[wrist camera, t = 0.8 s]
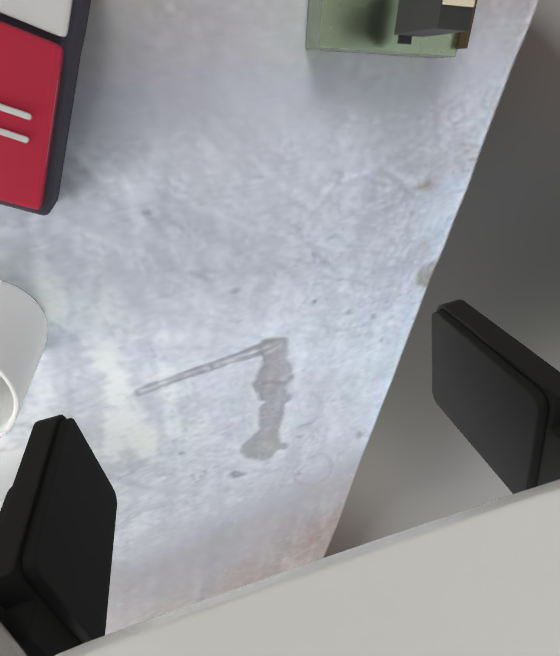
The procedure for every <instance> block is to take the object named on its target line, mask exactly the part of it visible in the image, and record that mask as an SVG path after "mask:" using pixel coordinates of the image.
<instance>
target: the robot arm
mask: <svg viewBox="0 0 560 656" xmlns="http://www.w3.org/2000/svg"><path fill="white" fill-rule="evenodd" d="M432 392H433V396H434V399H435V401H436V403H437V404H438V406H439V407H440V408H441V409H442V410H443V411H444V412H445V414H446V415H447V416H448V417H449V418H450V419H451V421H452V422H453V423H454V425H455V426H456V427H457V428H458V429H459V430H460V432H461V433H462V434H463V435H464V436H465V437H466V439H467V440H468V441H469V442H470V443H471V445H472V446H473V447H474V448H475V449H476V450H477V452H478V453H479V454H480V455H481V456H482V457H483V459H484V460H485V461H486V462H487V463H488V465H489V466H490V467H491V468H492V469H493V471H494V472H495V473H496V474H497V475H498V476H499V478H500V479H501V480H502V481H503V482H504V484H505V485H506V486H507V487H508V488H509V489H510V491H511V492H512V493H513V494H512V495H509V496H506V497H503V498H499V499H497V500H493V501H490V502H487V503H484V504H481V505H479V506H476V507H473V508H470V509H467V510H464V511H461V512H458V513H455V514H452V515H449V516H446V517H443V518H440V519H437V520H434V521H431V522H428V523H425V524H422V525H419V526H416V527H413V528H411V529H407V530H404V531H401V532H399V533H396V534H393V535H390V536H387V537H384V538H381V539H378V540H375V541H373V542H369V543H366V544H363V545H361V546H358V547H355V548H352V549H349V550H346V551H343V552H340V553H337V554H335V555H331V556H329V557H326V558H323V559H320V560H317V561H314V562H311V563H308V564H305V565H302V566H299V567H297V568H294V569H291V570H288V571H285V572H282V573H279V574H276V575H273V576H270V577H268V578H265V579H262V580H259V581H256V582H253V583H250V584H248V585H245V586H242V587H239V588H236V589H233V590H230V591H228V592H225V593H222V594H219V595H216V596H213V597H210V598H208V599H205V600H202V601H199V602H196V603H193V604H190V605H188V606H185V607H182V608H179V609H176V610H173V611H170V612H168V613H165V614H162V615H159V616H156V617H154V618H151V619H148V620H145V621H143V622H140V623H137V624H135V625H132V626H129V627H126V628H124V629H121V630H118V631H116V632H113V633H110V634H107V635H105V628H106V617H107V607H108V596H109V585H110V574H111V564H112V553H113V542H114V532H115V521H116V510H117V498H116V494H115V491H114V489H113V487H112V485H111V484H110V482H109V480H108V478H107V477H106V475H105V473H104V471H103V470H102V468H101V466H100V464H99V462H98V461H97V459H96V457H95V455H94V454H93V452H92V450H91V448H90V447H89V445H88V443H87V441H86V439H85V438H84V436H83V434H82V432H81V431H80V429H79V427H78V425H77V424H76V422H75V420H74V419H72V418H69V419H66V418H65V417H64V416H63V415H58V416H54V417H51V418H47V419H44V420H41V421H37V422H36V423H35V424H34V426H33V429H32V432H31V435H30V438H29V441H28V443H27V446H26V449H25V452H24V455H23V458H22V460H21V463H20V466H19V469H18V472H17V475H16V478H15V480H14V483H13V486H12V487H11V488H10V489H9V491H8V493H7V495H6V497H5V500H4V502H3V505H2V508H1V511H0V656H560V372H559V371H558V370H556V369H555V368H554V367H552V366H551V365H550V364H548V363H547V362H546V361H544V360H543V359H541V358H540V357H539V356H537V355H536V354H535V353H533V352H532V351H531V350H529V349H528V348H527V347H525V346H524V345H523V344H521V343H520V342H519V341H517V340H516V339H515V338H513V337H512V336H510V335H509V334H508V333H506V332H505V331H504V330H502V329H501V328H500V327H498V326H497V325H496V324H494V323H493V322H491V321H490V320H489V319H488V318H486V317H485V316H483V315H482V314H481V313H479V312H478V311H477V310H475V309H474V308H473V307H471V306H470V305H469V304H467V303H466V302H465V301H463V300H456V301H452V302H449V303H445V304H442V305H439V306H438V308H437V312H434V313H433V314H432Z"/></svg>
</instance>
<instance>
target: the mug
mask: <svg viewBox="0 0 560 656" xmlns="http://www.w3.org/2000/svg"><path fill="white" fill-rule="evenodd" d="M47 336H48V325H47V321H46V318H45V315H44V313H43V311H42V309H41V308H40V306H39V305H38V304H37V302H36V301H35V300H34V299H33V298H32V297H31V296H29V295H28V294H27V293H26V292H24V291H23V290H21V289H20V288H18V287H16V286H14V285H11V284H9V283H6V282H3V281H0V438H1V437H3V436H4V435H5V434H6V433H7V432H8V431H9V430H10V429H11V427H12V426H13V425H14V423H15V421H16V419H17V416H18V414H19V411H20V409H21V406H22V404H23V401H24V399H25V396H26V394H27V391H28V389H29V386H30V384H31V381H32V379H33V376H34V374H35V371H36V369H37V366H38V364H39V361H40V358H41V356H42V353H43V351H44V348H45V345H46V341H47Z"/></svg>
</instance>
